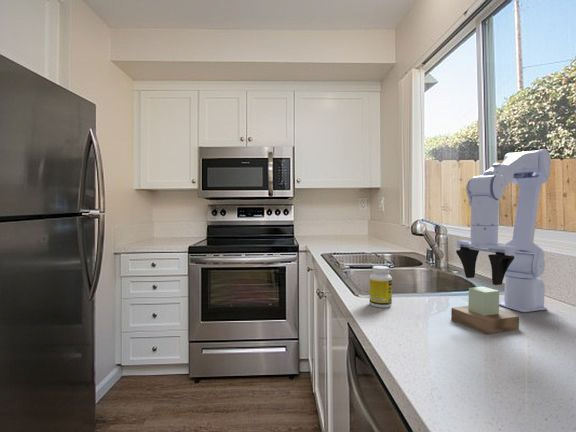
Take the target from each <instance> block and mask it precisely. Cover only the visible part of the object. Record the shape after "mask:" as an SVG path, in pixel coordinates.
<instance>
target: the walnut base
mask: <svg viewBox="0 0 576 432" xmlns="http://www.w3.org/2000/svg"><path fill="white" fill-rule="evenodd" d="M450 313H451V314H450V315H451V318H450V319H451V320H452V321H453V322H456V323H459V324H461V325H462V326H463V325H464V326H466V327H468V328H470V329H473V330H475V331H477V330H478V331H477V332H480V333H482V334H485V335H489V334H495V333H496V334H497V333H502V332H508V331H515V330H520V316H519V315H518V314H513V313H510V312H507V311H504V310H501V309H499V314H494V315H486V316H483V315H481V314H478V313H475V312H473V311H470V310H468V305H463V306H456V307H451V311H450Z"/></svg>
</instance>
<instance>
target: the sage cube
mask: <svg viewBox="0 0 576 432" xmlns="http://www.w3.org/2000/svg"><path fill="white" fill-rule="evenodd" d="M499 302H500V290H497V289H495V288H494V289H493V288H491V287H486V286H475V287H474V286H473V287H468V305H467V306H468V310H470V311H473V312H475V313H478V314H481V315H483V316H486V315H494V314H499V310H500V305H499Z"/></svg>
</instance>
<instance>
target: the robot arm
mask: <svg viewBox="0 0 576 432" xmlns="http://www.w3.org/2000/svg"><path fill="white" fill-rule="evenodd" d="M502 161H503V162H502V163H501V162H494V163H493V164H492V165H491V167H490V168H488V169H487V170H485V171H483V173H482V174H481V175H475V176H472V177H471V178H469V180H468V181H467V184H466V188H465V189H466V190H465V191H466V195H467V198H468V205H469V207H470V240H465V239H463V240H462V239H461V240H456V248H458V249H456V250H455V251H456V255H457V257H459V259H460V260H459V261H460V262H461V264H462V268H463V270H464V275H465V278H466V279H473V278H475V276H476V266H477V265H476V264H477V259H478V257H479V252H480V251H481V252H485V253H486V252H487V253H492V254H488V259H489V263H490V267H491V283H492V285H493V286H500V285H501V286H502V285H503V281H504V301H501V302H500V301H499V306H501V307H504V308H508V309H511V310H514V311H517V312H520V313H530V312H536V311H538V312H539V311H544V310H548V307H546V306H545V293H546V292H545V290H546V288H545V283H544V281H543V279H541V276H542V275H543V274H544V272H545V269H546V264H545V262H546V261H545V251H544V249H543V248H542V247H540V246H539V245H538V244H537V243H535V242H534V240H535V239H534V237H535V232H536V224H537V217H538V210H539V209H538V208H539V202H540V201H539V200H540V193H541V188H542V185H543V184H545V183H547V182H549V178H550V172H551V168H552V160H551V153H550V152H549V150H548V149H546V148H541V149H537V150H527V151H519V152H507V153H506V154H505V155H504V157H503V160H502ZM510 183H512V184H514V185H517V186H518V187H519V190H518V197H517V205H516V210H515V211H516V212H515V220H514V225H513V234H512V239H511V240H509V241H508V242H506V243H505V244H501V243H498V242H499V241H498V240H499V237H498V236H499V204H500V203H499V201H500V199H502V198H503V195H504V192H505V190H506V187H507V185H509V184H510Z"/></svg>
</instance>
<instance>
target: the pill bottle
mask: <svg viewBox="0 0 576 432" xmlns="http://www.w3.org/2000/svg"><path fill="white" fill-rule="evenodd" d="M372 272H373V273H371V274H370V275H369V304H370V306H371V307H374V308H381V309H382V308H384V309H387V308H390V307H391V306H392V303H393V302H392V301H393V298H392V297H393V293H392V292H393V276H391V275H390V274H389V273H390V267H389V266H385V265H374V266H373V265H372Z"/></svg>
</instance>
